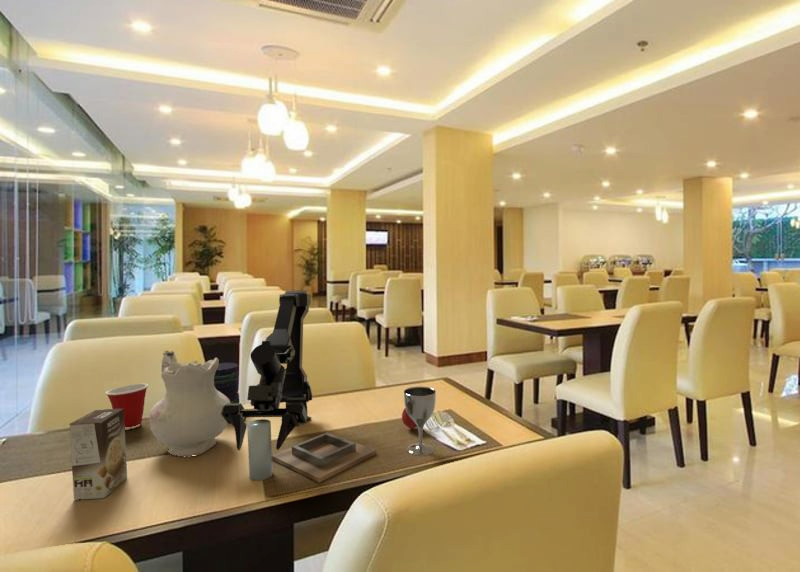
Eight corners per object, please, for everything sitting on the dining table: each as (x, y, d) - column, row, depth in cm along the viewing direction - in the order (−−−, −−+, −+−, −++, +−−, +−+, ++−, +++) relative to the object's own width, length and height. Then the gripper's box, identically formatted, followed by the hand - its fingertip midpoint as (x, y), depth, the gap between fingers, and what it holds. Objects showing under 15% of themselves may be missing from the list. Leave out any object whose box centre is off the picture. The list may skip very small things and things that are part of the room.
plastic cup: (135, 418, 140) (133, 380, 139) (158, 423, 135) (156, 384, 135) (99, 430, 130) (96, 390, 130) (122, 436, 126) (120, 394, 125)
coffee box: (105, 498, 93) (100, 422, 92) (72, 500, 92) (67, 424, 91) (128, 477, 102) (124, 407, 101) (98, 478, 102) (94, 409, 101)
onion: (420, 433, 124) (420, 405, 123) (400, 432, 125) (399, 404, 124) (424, 426, 129) (423, 398, 129) (404, 424, 131) (403, 397, 130)
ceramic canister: (245, 476, 102) (242, 424, 101) (264, 467, 105) (262, 417, 105) (257, 482, 98) (255, 429, 98) (277, 474, 102) (275, 422, 101)
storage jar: (245, 407, 148) (244, 362, 147) (228, 418, 139) (226, 370, 138) (218, 406, 150) (216, 362, 149) (200, 416, 141) (197, 369, 140)
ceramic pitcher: (128, 459, 114) (115, 364, 110) (188, 425, 132) (179, 343, 128) (195, 472, 106) (184, 370, 103) (249, 434, 125) (241, 347, 121)
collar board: (271, 459, 110) (271, 447, 109) (328, 436, 123) (328, 425, 123) (318, 482, 98) (318, 469, 98) (376, 454, 112) (375, 442, 111)
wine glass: (439, 444, 116) (439, 387, 115) (431, 458, 109) (430, 397, 108) (410, 441, 119) (409, 385, 118) (400, 454, 111) (399, 394, 110)
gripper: (222, 369, 104) (203, 435, 94) (302, 368, 104) (292, 434, 94) (236, 392, 113) (220, 455, 102) (310, 391, 113) (302, 454, 102)
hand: (257, 449), depth 100 cm, fingers open, 8 cm apart
